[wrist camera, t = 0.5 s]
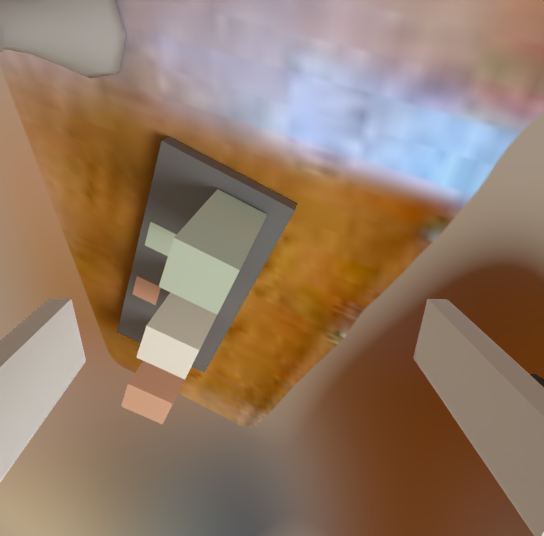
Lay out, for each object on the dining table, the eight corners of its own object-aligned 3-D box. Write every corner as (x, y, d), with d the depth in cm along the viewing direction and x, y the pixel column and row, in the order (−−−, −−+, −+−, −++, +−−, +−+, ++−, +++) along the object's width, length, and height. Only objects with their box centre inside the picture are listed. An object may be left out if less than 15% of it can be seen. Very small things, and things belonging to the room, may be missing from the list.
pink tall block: (167, 323, 42) (128, 383, 35) (204, 340, 42) (172, 403, 35) (159, 346, 45) (121, 406, 38) (193, 362, 45) (162, 424, 38)
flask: (53, 68, 29) (-64, 81, 21) (32, -44, 25) (-124, -82, 17) (131, 86, 29) (43, 107, 21) (124, -24, 24) (9, -54, 16)
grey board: (169, 136, 30) (160, 141, 29) (297, 203, 31) (294, 210, 30) (123, 324, 47) (116, 332, 45) (208, 363, 48) (204, 372, 46)
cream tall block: (188, 267, 36) (146, 325, 29) (230, 287, 36) (199, 350, 29) (177, 297, 39) (136, 357, 32) (216, 316, 39) (184, 379, 32)
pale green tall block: (217, 189, 30) (173, 237, 23) (267, 214, 31) (239, 270, 23) (201, 231, 33) (158, 286, 26) (247, 254, 34) (217, 314, 26)
